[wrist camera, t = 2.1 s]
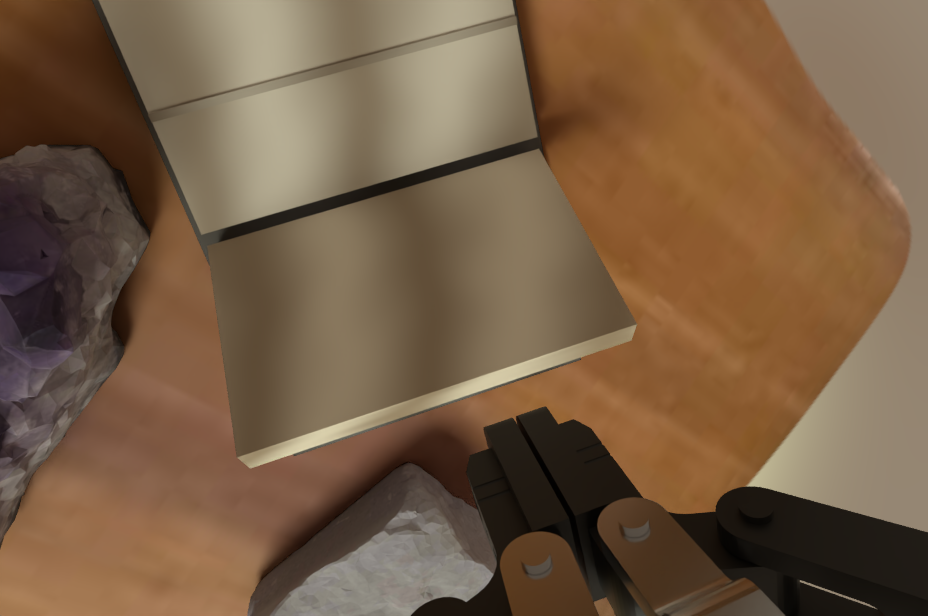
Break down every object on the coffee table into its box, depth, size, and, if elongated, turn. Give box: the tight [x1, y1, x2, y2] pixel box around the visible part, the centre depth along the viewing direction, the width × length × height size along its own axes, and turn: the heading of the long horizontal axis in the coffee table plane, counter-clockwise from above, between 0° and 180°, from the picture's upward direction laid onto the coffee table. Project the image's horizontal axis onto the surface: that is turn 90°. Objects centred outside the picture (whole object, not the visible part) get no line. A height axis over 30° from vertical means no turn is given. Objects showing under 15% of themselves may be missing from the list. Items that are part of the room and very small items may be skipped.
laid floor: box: [92, 0, 581, 456], centre depth 26 cm, size 15×21×2 cm
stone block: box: [247, 463, 497, 616], centre depth 33 cm, size 12×5×10 cm
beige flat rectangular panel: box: [207, 149, 637, 468], centre depth 23 cm, size 14×9×1 cm
